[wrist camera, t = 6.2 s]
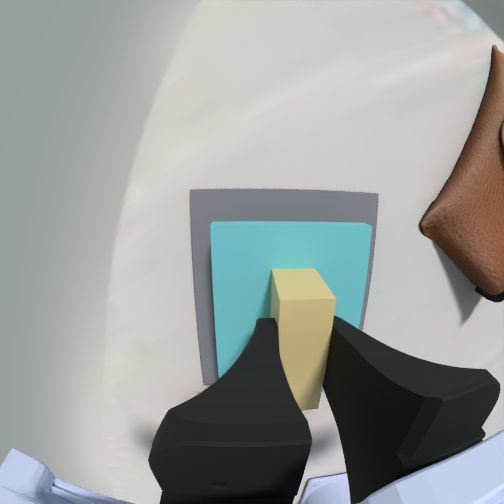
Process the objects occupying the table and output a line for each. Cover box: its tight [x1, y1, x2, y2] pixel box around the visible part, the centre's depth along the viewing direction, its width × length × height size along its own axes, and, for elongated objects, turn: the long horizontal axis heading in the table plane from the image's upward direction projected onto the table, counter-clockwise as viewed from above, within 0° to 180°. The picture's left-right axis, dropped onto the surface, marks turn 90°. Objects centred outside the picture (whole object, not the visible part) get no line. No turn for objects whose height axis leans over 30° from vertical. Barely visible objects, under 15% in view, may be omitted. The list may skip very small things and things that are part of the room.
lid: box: [210, 221, 372, 410], centre depth 11 cm, size 9×7×4 cm
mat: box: [190, 189, 378, 385], centre depth 14 cm, size 11×9×1 cm
